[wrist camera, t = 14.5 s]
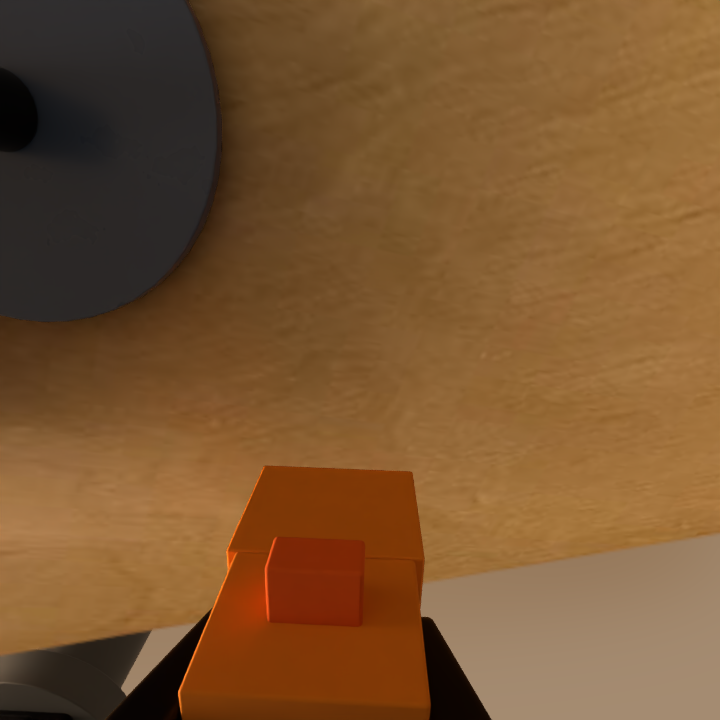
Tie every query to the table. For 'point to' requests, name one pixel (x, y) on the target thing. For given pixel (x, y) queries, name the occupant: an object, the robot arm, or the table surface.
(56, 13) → the lid
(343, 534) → the duck
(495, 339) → the table surface
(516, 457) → the table surface
